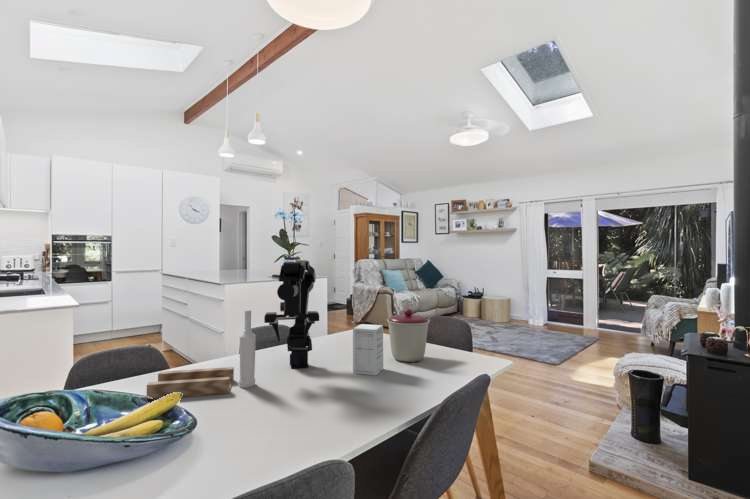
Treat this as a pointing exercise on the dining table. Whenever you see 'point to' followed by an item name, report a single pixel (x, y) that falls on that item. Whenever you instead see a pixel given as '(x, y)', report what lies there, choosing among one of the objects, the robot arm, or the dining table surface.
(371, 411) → the dining table surface
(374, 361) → the supplement box
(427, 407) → the dining table surface
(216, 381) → the u rest
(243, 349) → the bottle
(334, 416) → the dining table surface
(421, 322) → the canister
